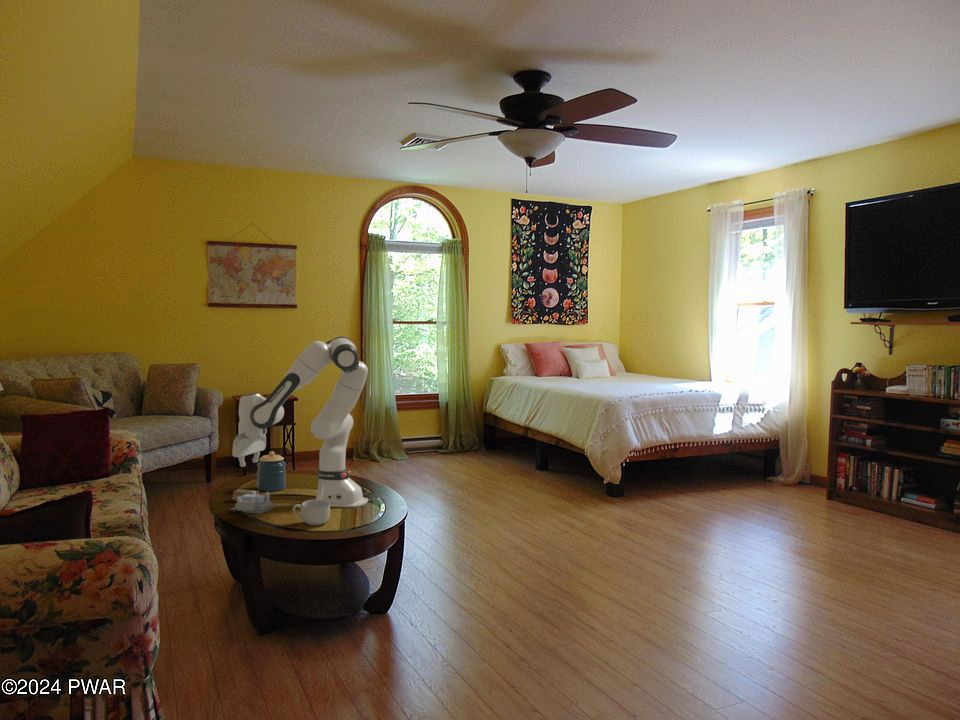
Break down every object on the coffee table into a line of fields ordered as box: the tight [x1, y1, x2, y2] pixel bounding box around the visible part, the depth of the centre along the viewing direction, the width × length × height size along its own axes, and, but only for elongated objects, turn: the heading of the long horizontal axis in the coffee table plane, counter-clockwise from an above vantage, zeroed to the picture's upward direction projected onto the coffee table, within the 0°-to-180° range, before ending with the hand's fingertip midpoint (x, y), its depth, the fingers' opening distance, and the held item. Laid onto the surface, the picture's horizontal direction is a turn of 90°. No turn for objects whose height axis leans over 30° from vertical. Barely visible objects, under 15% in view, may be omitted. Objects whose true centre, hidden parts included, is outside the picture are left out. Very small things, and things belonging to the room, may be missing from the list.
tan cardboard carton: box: [232, 488, 260, 501], centre depth 289 cm, size 4×10×4 cm, turn 76°
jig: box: [229, 490, 277, 515], centre depth 275 cm, size 14×12×6 cm
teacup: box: [292, 499, 331, 526], centre depth 256 cm, size 14×11×8 cm
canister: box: [256, 450, 287, 492], centre depth 312 cm, size 13×13×18 cm
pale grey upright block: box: [241, 494, 265, 505], centre depth 275 cm, size 8×4×4 cm, turn 77°
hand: (249, 464), depth 280 cm, fingers open, 8 cm apart
